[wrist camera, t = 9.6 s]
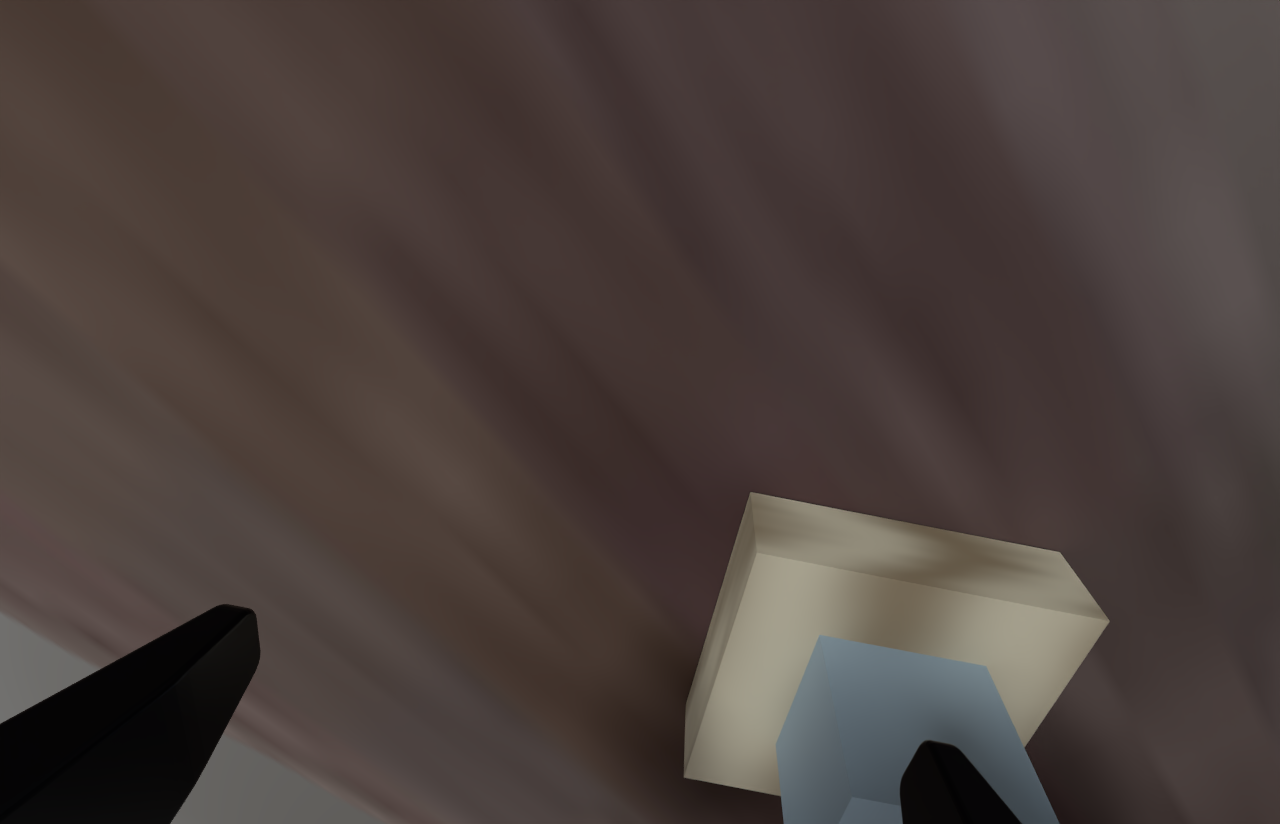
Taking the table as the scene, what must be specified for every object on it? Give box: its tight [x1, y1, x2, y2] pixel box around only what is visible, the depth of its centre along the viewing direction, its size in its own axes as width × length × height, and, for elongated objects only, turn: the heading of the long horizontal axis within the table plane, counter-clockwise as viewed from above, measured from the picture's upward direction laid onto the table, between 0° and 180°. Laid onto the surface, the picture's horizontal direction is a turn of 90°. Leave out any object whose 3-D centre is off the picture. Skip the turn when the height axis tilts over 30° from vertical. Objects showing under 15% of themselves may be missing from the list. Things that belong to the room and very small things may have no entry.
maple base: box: [684, 492, 1109, 796], centre depth 23 cm, size 10×10×3 cm
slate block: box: [776, 635, 1059, 824], centre depth 19 cm, size 5×5×5 cm
